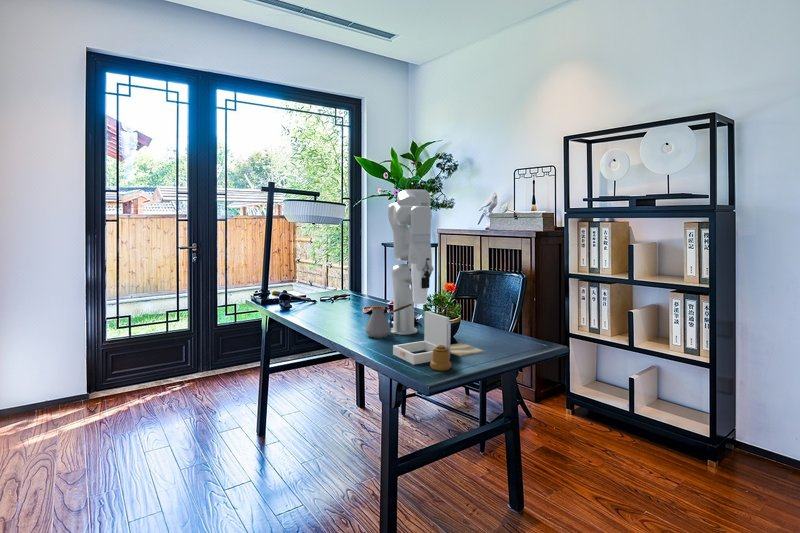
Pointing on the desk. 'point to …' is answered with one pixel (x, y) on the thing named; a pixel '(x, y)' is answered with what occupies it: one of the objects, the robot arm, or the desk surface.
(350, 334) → the desk surface
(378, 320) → the coffee pot
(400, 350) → the open case
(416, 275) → the drinking glass
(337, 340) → the desk surface
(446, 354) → the ornamental finial
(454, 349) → the wooden pad
